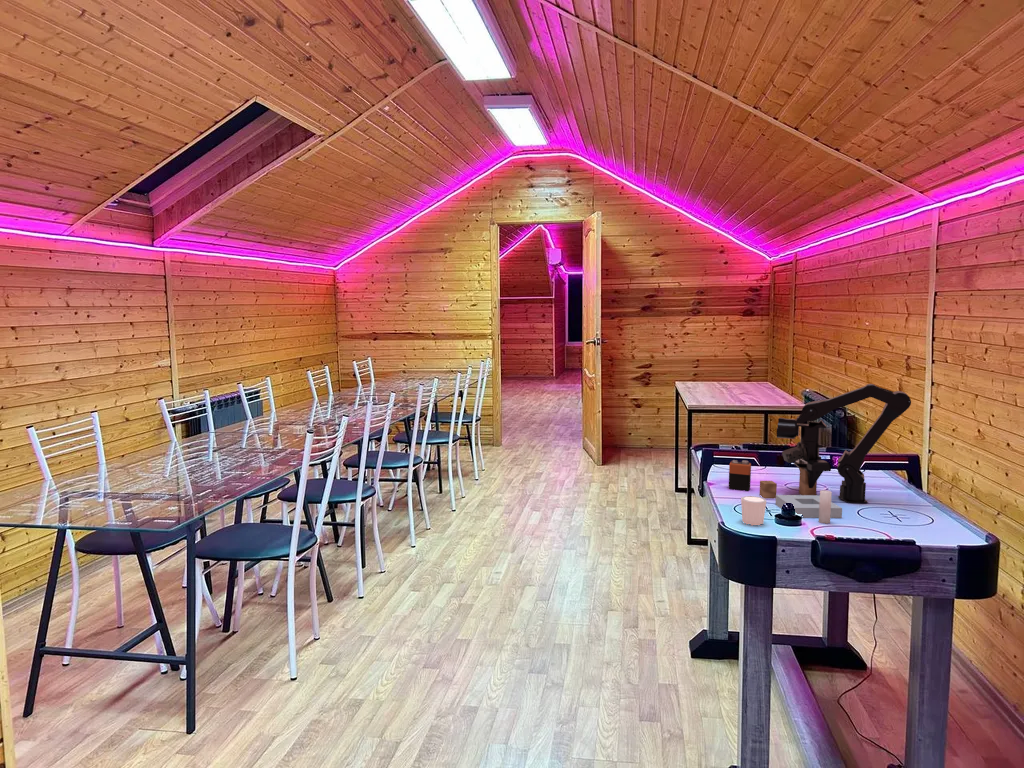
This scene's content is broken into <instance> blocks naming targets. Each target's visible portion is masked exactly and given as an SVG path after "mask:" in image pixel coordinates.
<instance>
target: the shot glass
mask: <svg viewBox="0 0 1024 768" xmlns="http://www.w3.org/2000/svg"><path fill="white" fill-rule="evenodd" d="M740 500H741V501H740V503H741V518H742V521H743V522H744V523H743V522H742V523H743V524H745V523H746V524H745V525H747V524H751V525H750V526H753V525H760V524H763V525H764V520H765V514H766V507H767V498H763V497H761V496H760V497H759V496H752V495H750V496H749V495H748V496H742V497H741V498H740ZM760 526H761V525H760Z"/></svg>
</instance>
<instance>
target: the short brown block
mask: <svg viewBox="0 0 1024 768" xmlns="http://www.w3.org/2000/svg"><path fill="white" fill-rule="evenodd" d="M777 485H778V484H777V483H776V482H775V481H773V480H759V496H760V495H761V496H762V497H761V496H760V497H761V498H763V499H776V495H777V491H778V490H777Z"/></svg>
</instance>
